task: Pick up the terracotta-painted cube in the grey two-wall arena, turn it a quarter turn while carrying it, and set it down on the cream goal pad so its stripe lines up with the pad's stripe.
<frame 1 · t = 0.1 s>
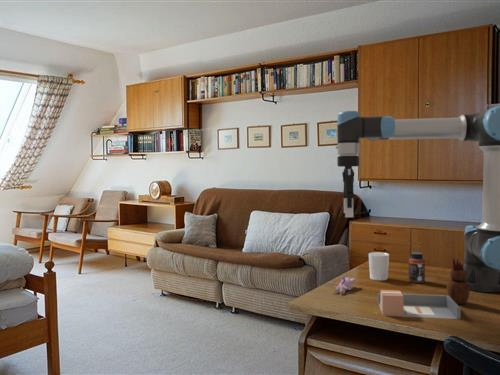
hand: (348, 215, 159), 28 cm above the table, tool pointing down, fingers open, 13 cm apart
supplement bottle: (416, 282, 174), on the table
arena: (416, 311, 140), on the table
rabbit figure: (344, 291, 163), on the table
wooden figurine: (457, 303, 147), on the table
white cup: (378, 279, 180), on the table
cube: (391, 312, 138), resting on arena
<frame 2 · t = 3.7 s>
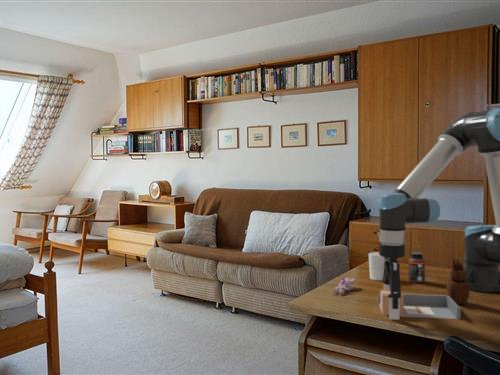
hand: (391, 311, 138), 0 cm above the table, tool pointing down, fingers open, 13 cm apart
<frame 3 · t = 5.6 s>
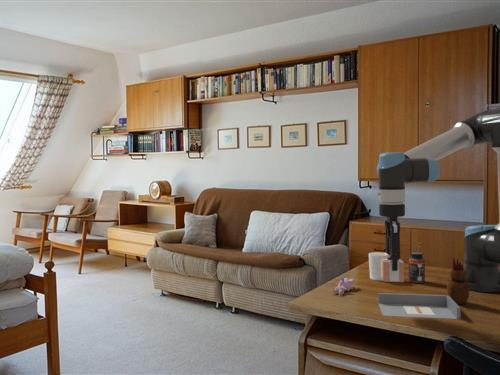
hand: (392, 277, 138), 11 cm above the table, tool pointing down, fingers closed on cube, 6 cm apart
cube: (392, 279, 138), point 11 cm above the table, touching gripper
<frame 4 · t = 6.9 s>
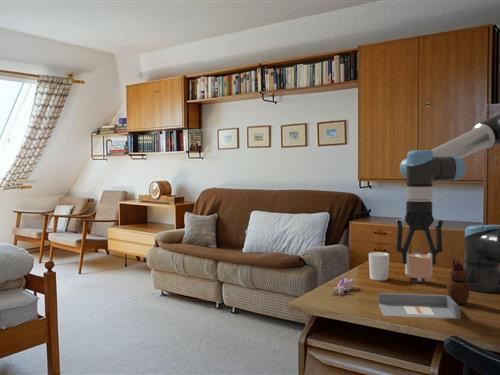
hand: (418, 274, 139), 12 cm above the table, tool pointing down, fingers closed on cube, 6 cm apart
cube: (418, 275, 139), point 11 cm above the table, touching gripper
when the fingers open (1 cm above the table, at t = 8.6 s): cube stays where it is, resting on arena.
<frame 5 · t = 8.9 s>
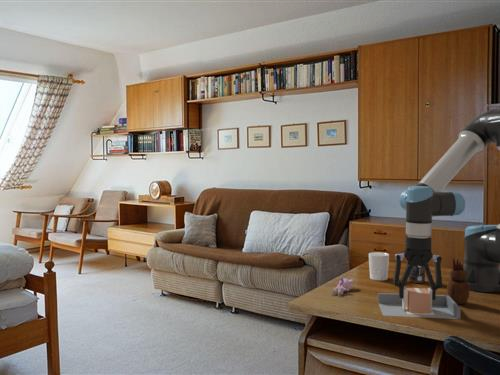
hand: (416, 309, 139), 1 cm above the table, tool pointing down, fingers open, 7 cm apart
cube: (417, 309, 140), resting on arena
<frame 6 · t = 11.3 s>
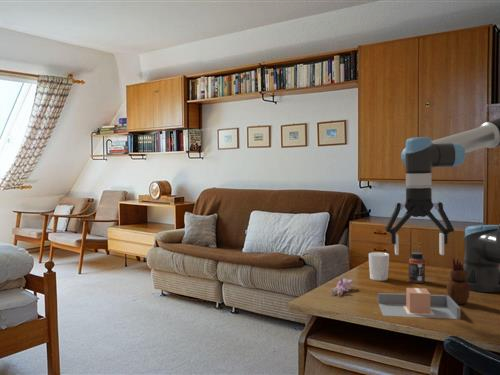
hand: (419, 254, 141), 17 cm above the table, tool pointing down, fingers open, 13 cm apart
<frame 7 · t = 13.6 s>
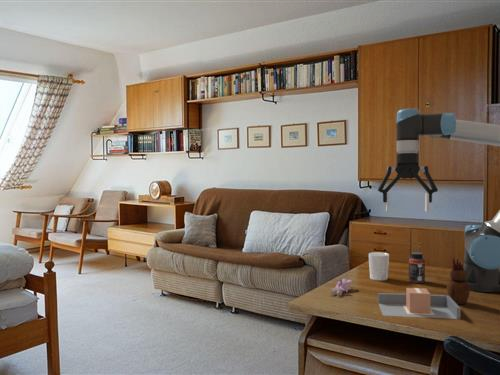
hand: (407, 211, 161), 29 cm above the table, tool pointing down, fingers open, 13 cm apart
at the end: cube inside the target area (0.1 cm from its centre), resting on arena; cube tilted 0°; the gripper is holding nothing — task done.
